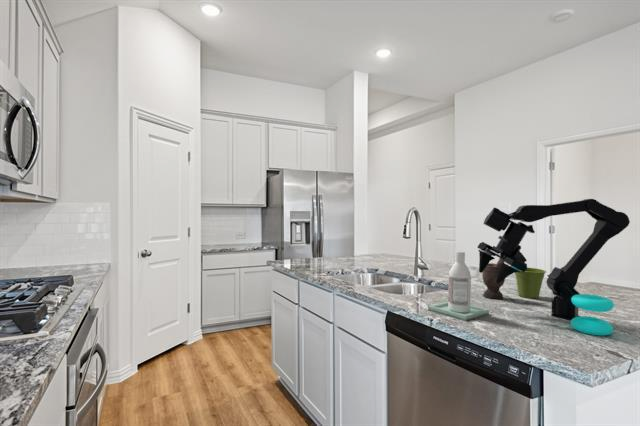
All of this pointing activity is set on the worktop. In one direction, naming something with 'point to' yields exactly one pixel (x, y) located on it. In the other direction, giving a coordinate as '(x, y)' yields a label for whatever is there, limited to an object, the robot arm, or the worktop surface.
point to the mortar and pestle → (492, 280)
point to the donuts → (592, 323)
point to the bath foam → (459, 285)
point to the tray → (473, 313)
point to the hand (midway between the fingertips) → (488, 277)
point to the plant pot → (529, 282)
